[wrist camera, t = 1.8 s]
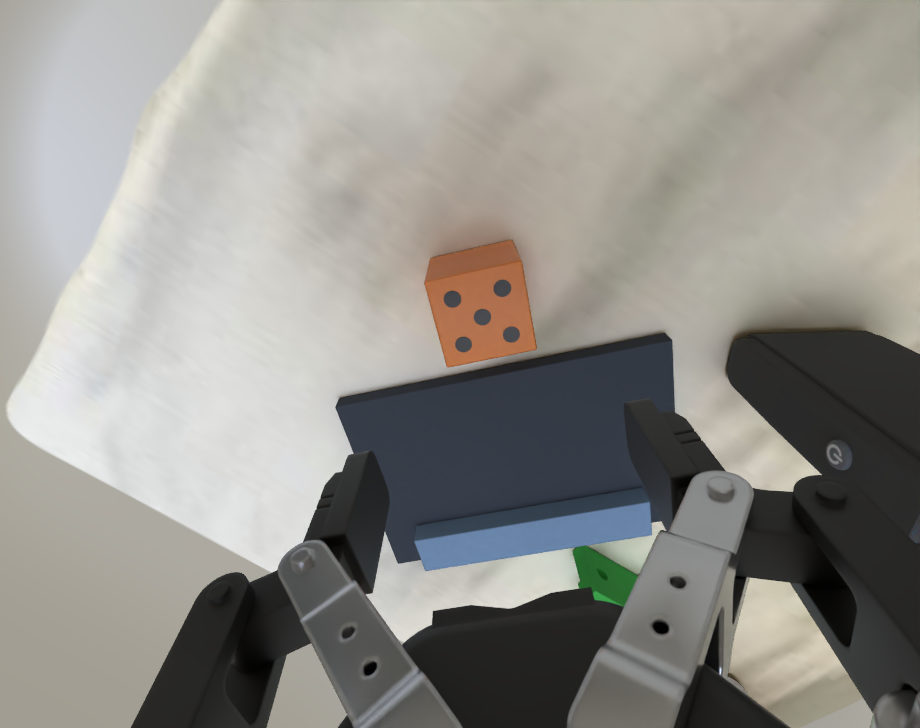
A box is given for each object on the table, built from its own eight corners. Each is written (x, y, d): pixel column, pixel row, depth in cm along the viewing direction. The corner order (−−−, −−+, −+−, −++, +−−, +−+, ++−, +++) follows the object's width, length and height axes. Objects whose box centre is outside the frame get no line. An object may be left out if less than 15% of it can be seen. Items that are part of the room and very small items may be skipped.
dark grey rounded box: (714, 384, 32) (894, 567, 19) (727, 329, 31) (936, 487, 17) (853, 380, 32) (1133, 562, 19) (873, 324, 30) (1200, 481, 17)
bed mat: (339, 397, 33) (328, 420, 30) (665, 332, 31) (683, 350, 28) (399, 552, 39) (395, 581, 37) (672, 507, 37) (687, 534, 35)
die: (429, 257, 29) (423, 282, 24) (512, 239, 28) (521, 260, 24) (449, 333, 31) (447, 368, 26) (526, 317, 30) (537, 350, 26)
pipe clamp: (551, 568, 40) (560, 618, 36) (581, 541, 39) (595, 590, 35) (646, 621, 43) (665, 673, 39) (677, 598, 42) (700, 649, 38)
